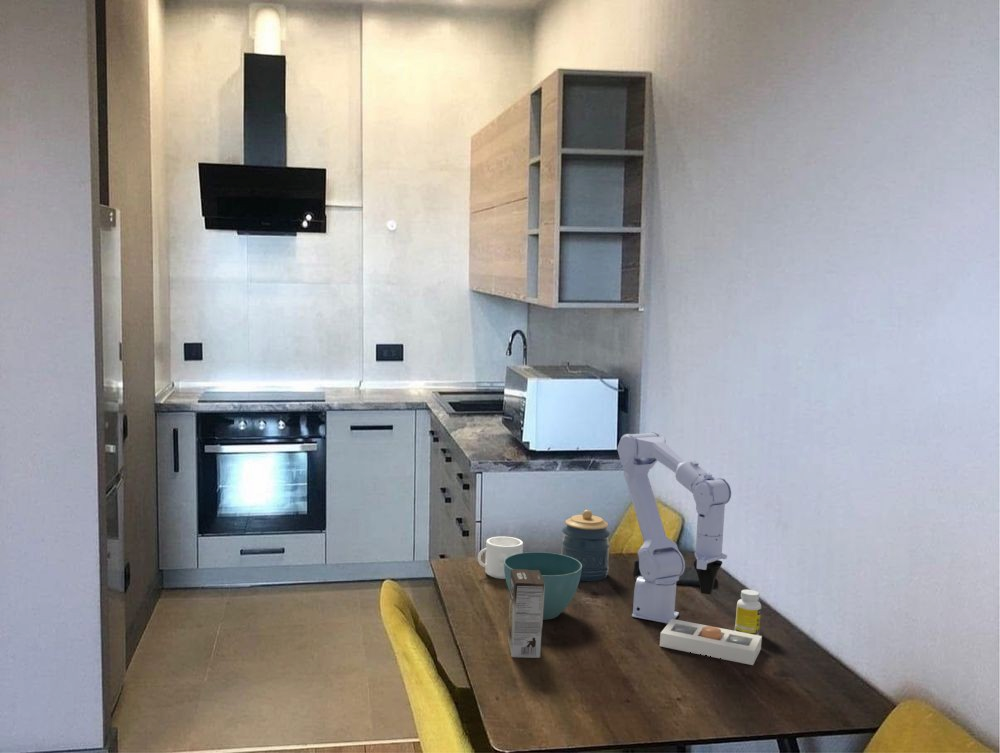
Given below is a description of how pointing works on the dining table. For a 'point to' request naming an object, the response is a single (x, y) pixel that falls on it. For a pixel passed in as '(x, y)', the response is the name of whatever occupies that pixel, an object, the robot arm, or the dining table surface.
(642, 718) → the dining table surface
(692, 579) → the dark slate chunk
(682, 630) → the left grey button
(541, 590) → the coffee box
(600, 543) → the canister
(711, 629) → the orange rounded dome
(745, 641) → the right grey button
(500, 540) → the mug
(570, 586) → the teal bowl
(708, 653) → the button panel
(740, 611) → the supplement bottle
